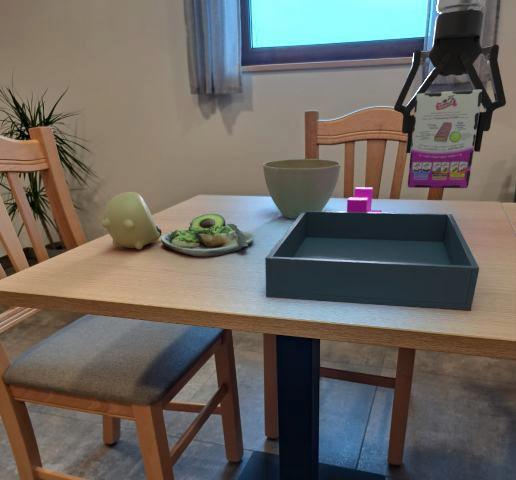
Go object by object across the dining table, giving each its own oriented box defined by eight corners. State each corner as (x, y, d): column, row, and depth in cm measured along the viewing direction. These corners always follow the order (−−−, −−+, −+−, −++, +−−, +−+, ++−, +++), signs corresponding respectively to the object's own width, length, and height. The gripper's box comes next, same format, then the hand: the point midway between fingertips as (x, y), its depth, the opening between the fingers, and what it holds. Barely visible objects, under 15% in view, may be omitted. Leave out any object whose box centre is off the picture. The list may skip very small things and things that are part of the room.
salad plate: (280, 246, 90) (279, 222, 87) (200, 266, 80) (198, 240, 78) (225, 229, 103) (223, 208, 101) (152, 244, 94) (149, 221, 92)
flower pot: (254, 222, 109) (252, 167, 103) (276, 207, 124) (275, 158, 118) (330, 225, 103) (332, 168, 98) (343, 209, 119) (346, 158, 113)
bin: (446, 245, 87) (451, 213, 85) (471, 310, 60) (479, 268, 58) (302, 239, 94) (303, 210, 91) (266, 296, 67) (265, 257, 64)
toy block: (376, 239, 93) (380, 200, 89) (345, 237, 94) (347, 199, 91) (381, 222, 105) (384, 187, 102) (353, 221, 107) (355, 187, 103)
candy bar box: (468, 184, 90) (484, 89, 83) (468, 189, 86) (484, 89, 79) (409, 183, 95) (418, 92, 87) (406, 187, 90) (415, 92, 83)
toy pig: (159, 265, 93) (175, 221, 97) (131, 230, 82) (150, 182, 86) (118, 259, 96) (135, 217, 99) (85, 226, 85) (106, 179, 89)
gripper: (386, 15, 77) (376, 155, 87) (545, 0, 71) (515, 152, 81) (386, 21, 84) (377, 151, 94) (532, 9, 78) (506, 148, 88)
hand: (441, 151), depth 88 cm, fingers closed on candy bar box, 11 cm apart
